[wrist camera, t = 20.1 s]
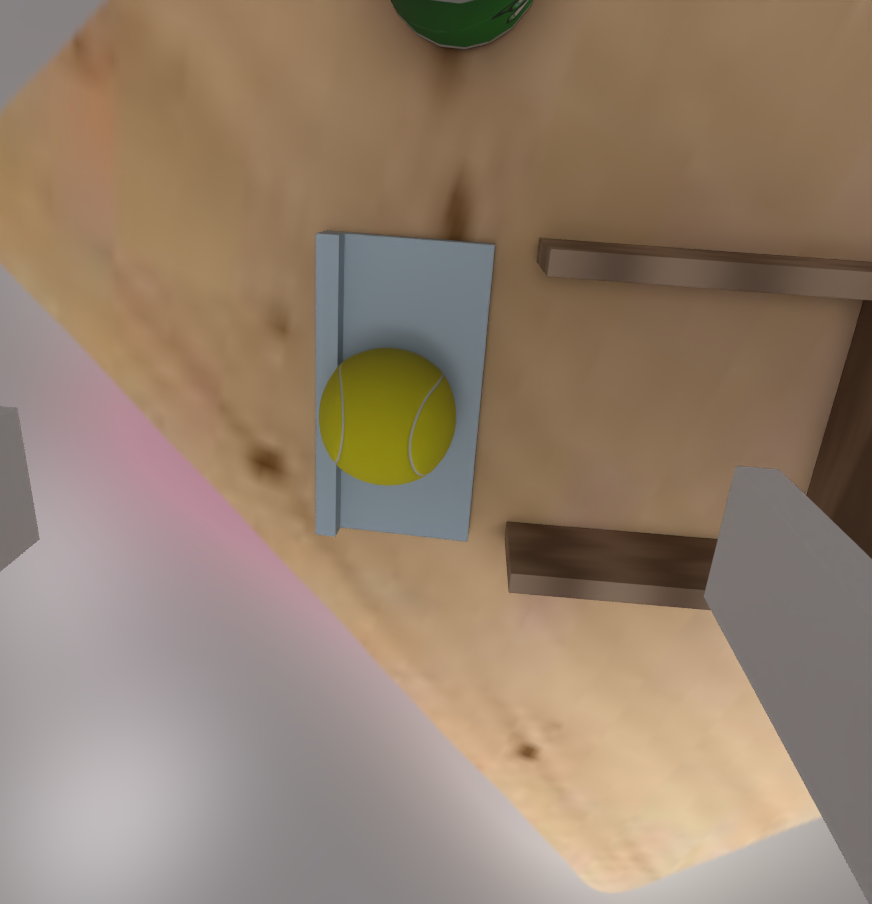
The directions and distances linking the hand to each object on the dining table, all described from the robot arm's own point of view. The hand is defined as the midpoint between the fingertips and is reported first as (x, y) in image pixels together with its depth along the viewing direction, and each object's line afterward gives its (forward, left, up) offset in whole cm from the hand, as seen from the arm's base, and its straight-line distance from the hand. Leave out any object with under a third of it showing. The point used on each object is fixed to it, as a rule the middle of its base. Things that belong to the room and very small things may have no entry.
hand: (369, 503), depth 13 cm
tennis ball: (+2, +6, -26) cm, 26 cm away
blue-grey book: (-3, +6, -25) cm, 26 cm away
